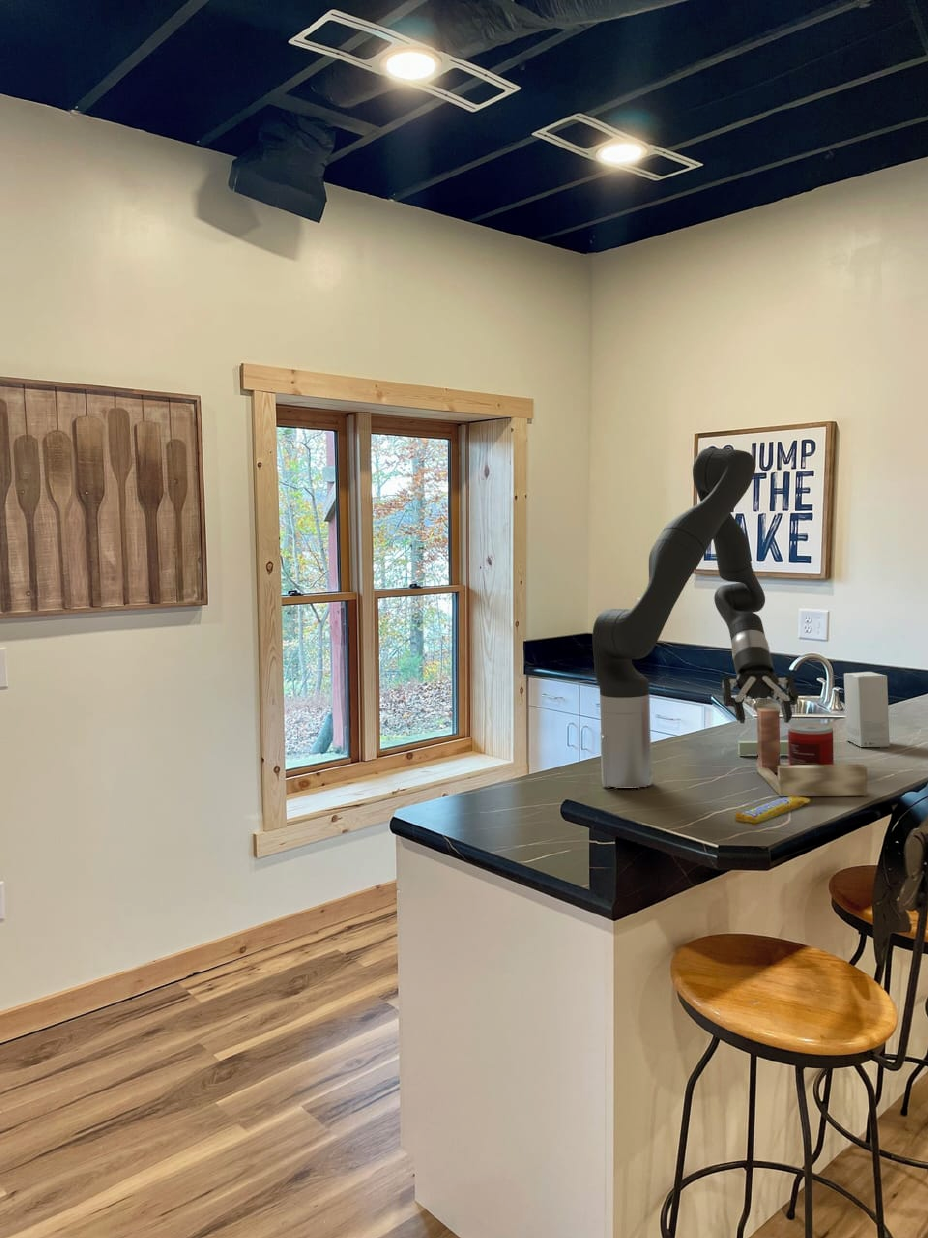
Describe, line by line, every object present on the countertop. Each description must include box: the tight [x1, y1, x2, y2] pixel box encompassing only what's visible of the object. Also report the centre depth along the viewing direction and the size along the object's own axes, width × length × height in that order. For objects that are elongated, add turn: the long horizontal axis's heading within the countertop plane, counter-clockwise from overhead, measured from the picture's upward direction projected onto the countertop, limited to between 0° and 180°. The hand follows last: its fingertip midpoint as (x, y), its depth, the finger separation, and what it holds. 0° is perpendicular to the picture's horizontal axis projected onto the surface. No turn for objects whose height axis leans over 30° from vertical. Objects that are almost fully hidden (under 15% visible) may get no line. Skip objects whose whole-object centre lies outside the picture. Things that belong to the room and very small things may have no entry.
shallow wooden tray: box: [755, 707, 868, 797], centre depth 165 cm, size 15×20×12 cm
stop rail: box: [737, 739, 789, 756], centre depth 189 cm, size 16×2×3 cm, turn 84°
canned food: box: [787, 722, 835, 766], centre depth 163 cm, size 8×8×11 cm
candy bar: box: [734, 795, 811, 825], centre depth 148 cm, size 17×4×2 cm, turn 128°
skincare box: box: [843, 671, 891, 748], centre depth 195 cm, size 8×7×16 cm
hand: (765, 720), depth 177 cm, fingers open, 8 cm apart
